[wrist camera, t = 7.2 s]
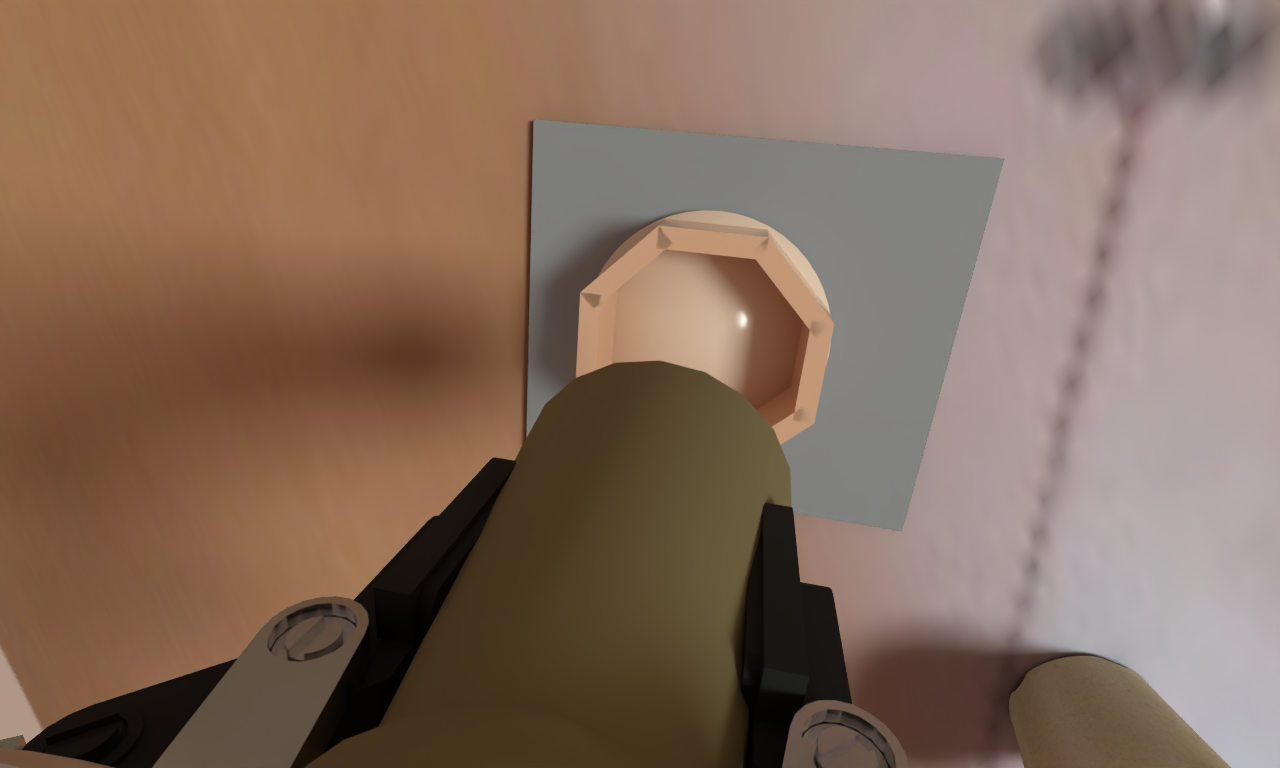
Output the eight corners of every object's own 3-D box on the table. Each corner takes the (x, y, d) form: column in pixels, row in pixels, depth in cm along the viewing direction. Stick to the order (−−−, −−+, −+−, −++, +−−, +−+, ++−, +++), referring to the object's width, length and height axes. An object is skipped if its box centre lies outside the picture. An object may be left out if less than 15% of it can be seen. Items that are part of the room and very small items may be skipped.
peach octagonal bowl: (805, 459, 27) (812, 500, 24) (583, 425, 29) (560, 458, 26) (853, 223, 24) (868, 232, 21) (596, 197, 25) (571, 202, 22)
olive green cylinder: (615, 637, 15) (310, 1638, 5) (470, 440, 14) (-331, 1194, 4) (844, 544, 13) (1153, 1903, 3) (697, 305, 12) (324, 1125, 2)
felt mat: (900, 526, 28) (901, 531, 28) (528, 464, 31) (525, 467, 30) (999, 158, 23) (1003, 159, 22) (536, 120, 25) (533, 119, 25)
